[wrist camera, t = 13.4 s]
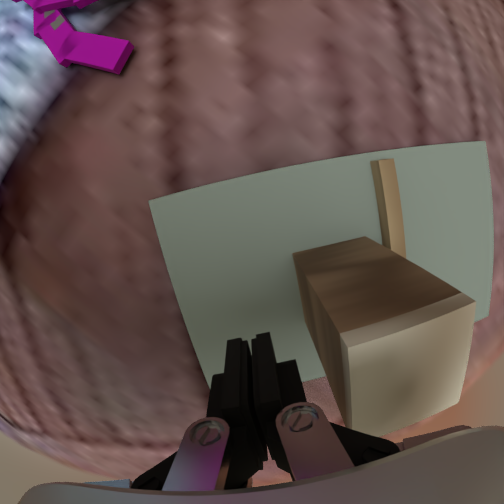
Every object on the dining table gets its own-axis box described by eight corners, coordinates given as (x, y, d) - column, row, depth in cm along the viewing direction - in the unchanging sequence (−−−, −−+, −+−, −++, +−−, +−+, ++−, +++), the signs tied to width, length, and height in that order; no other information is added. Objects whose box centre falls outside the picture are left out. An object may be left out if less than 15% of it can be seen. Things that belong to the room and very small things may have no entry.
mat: (214, 393, 20) (213, 398, 20) (151, 199, 17) (148, 200, 16) (484, 312, 19) (488, 315, 19) (480, 141, 16) (485, 140, 15)
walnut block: (305, 322, 18) (352, 445, 9) (292, 253, 17) (347, 348, 7) (372, 304, 18) (458, 402, 8) (365, 235, 17) (476, 301, 7)
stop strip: (387, 351, 19) (394, 361, 18) (369, 161, 16) (378, 160, 15) (399, 347, 19) (407, 356, 18) (384, 158, 16) (393, 158, 15)
